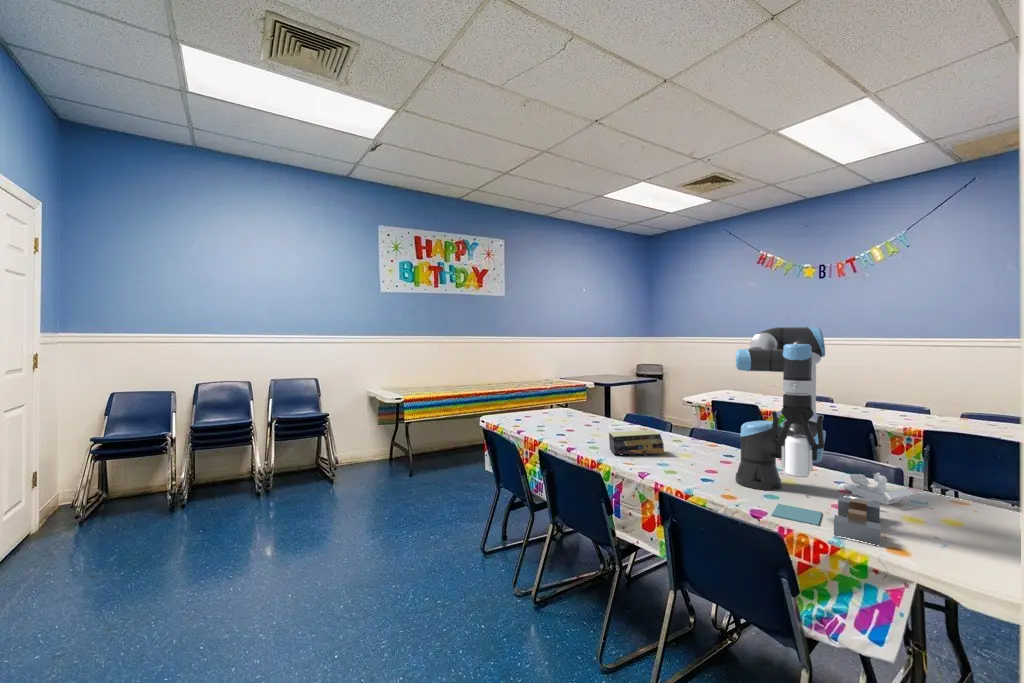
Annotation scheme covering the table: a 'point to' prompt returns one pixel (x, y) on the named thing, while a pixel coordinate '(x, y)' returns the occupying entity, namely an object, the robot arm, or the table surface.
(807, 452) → the can
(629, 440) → the toy bus
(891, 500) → the toy boat
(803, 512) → the mat
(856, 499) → the vise
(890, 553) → the table surface
